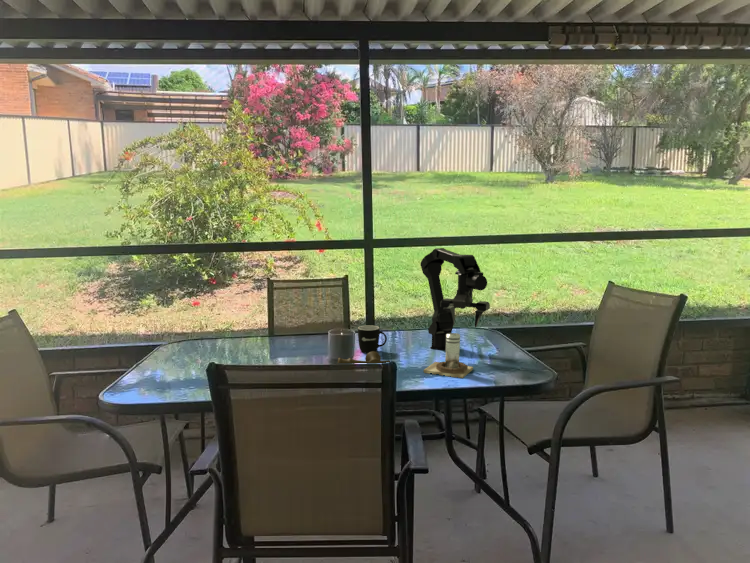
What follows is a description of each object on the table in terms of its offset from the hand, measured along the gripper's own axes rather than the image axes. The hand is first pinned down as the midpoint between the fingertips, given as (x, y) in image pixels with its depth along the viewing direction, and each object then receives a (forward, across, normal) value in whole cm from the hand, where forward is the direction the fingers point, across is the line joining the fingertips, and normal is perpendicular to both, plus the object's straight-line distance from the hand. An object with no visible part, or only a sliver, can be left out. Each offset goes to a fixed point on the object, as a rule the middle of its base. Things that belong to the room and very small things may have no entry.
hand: (464, 325), depth 237 cm
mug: (+13, -37, -8) cm, 40 cm away
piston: (+12, +2, -20) cm, 23 cm away
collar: (+13, 0, -19) cm, 23 cm away
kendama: (+14, -28, -32) cm, 44 cm away
